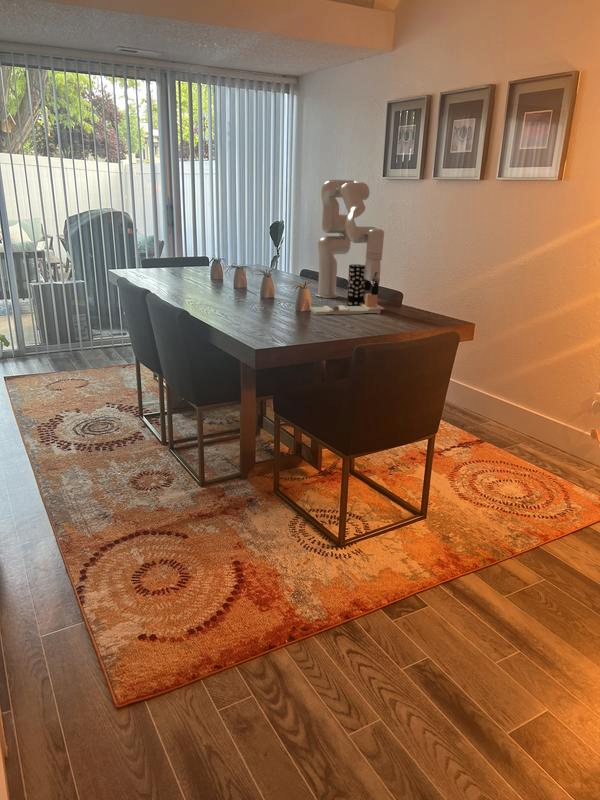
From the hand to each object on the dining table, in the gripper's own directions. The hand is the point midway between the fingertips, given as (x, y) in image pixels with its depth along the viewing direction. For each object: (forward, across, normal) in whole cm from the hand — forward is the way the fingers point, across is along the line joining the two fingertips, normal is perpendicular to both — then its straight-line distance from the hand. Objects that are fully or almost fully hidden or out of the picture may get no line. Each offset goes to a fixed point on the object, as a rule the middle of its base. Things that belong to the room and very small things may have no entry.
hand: (370, 292), depth 288 cm
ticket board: (+9, +1, -13) cm, 16 cm away
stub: (+7, +1, +1) cm, 7 cm away
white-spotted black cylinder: (+10, -13, -3) cm, 16 cm away
